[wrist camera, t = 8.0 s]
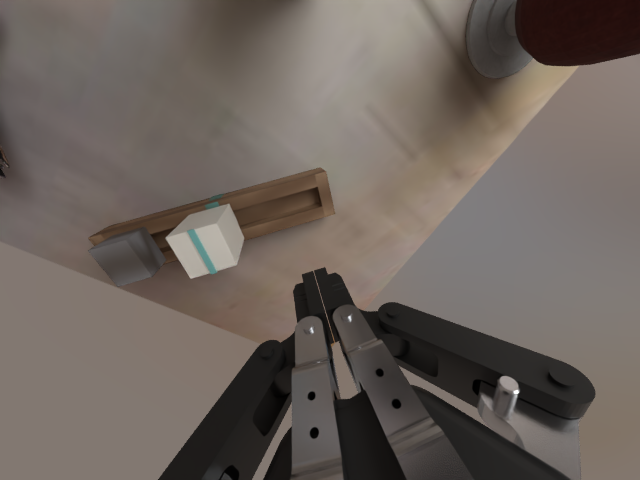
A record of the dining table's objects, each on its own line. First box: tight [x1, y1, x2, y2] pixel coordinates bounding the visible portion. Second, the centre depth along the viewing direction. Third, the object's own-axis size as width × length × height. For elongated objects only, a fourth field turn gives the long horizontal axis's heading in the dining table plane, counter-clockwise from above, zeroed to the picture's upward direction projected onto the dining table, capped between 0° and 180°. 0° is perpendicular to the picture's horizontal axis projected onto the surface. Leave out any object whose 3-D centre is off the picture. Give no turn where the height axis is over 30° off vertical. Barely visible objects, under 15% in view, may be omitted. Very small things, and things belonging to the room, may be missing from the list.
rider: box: [166, 204, 244, 279], centre depth 27 cm, size 5×5×9 cm
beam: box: [88, 168, 335, 287], centre depth 29 cm, size 6×30×8 cm, turn 103°
